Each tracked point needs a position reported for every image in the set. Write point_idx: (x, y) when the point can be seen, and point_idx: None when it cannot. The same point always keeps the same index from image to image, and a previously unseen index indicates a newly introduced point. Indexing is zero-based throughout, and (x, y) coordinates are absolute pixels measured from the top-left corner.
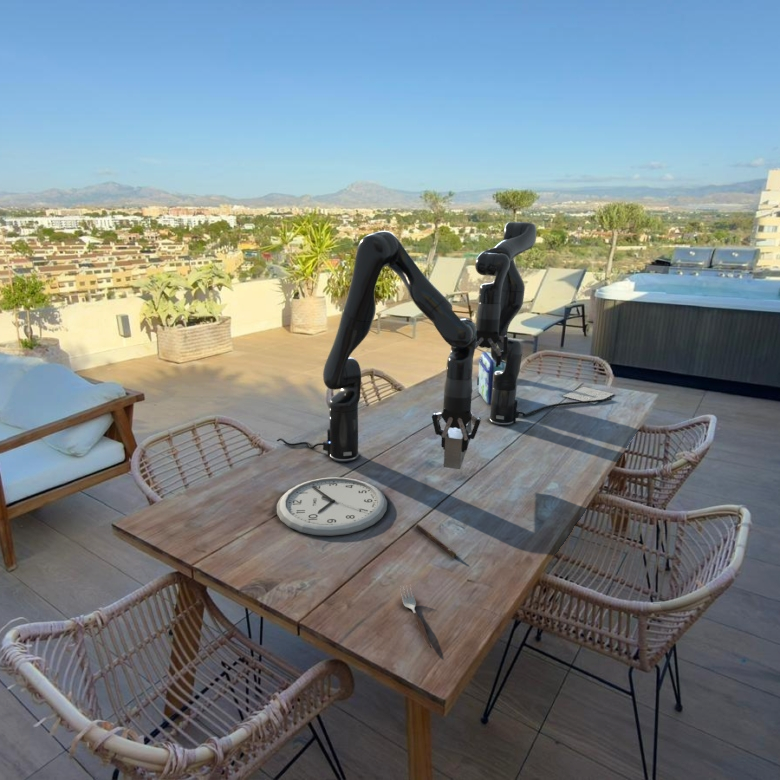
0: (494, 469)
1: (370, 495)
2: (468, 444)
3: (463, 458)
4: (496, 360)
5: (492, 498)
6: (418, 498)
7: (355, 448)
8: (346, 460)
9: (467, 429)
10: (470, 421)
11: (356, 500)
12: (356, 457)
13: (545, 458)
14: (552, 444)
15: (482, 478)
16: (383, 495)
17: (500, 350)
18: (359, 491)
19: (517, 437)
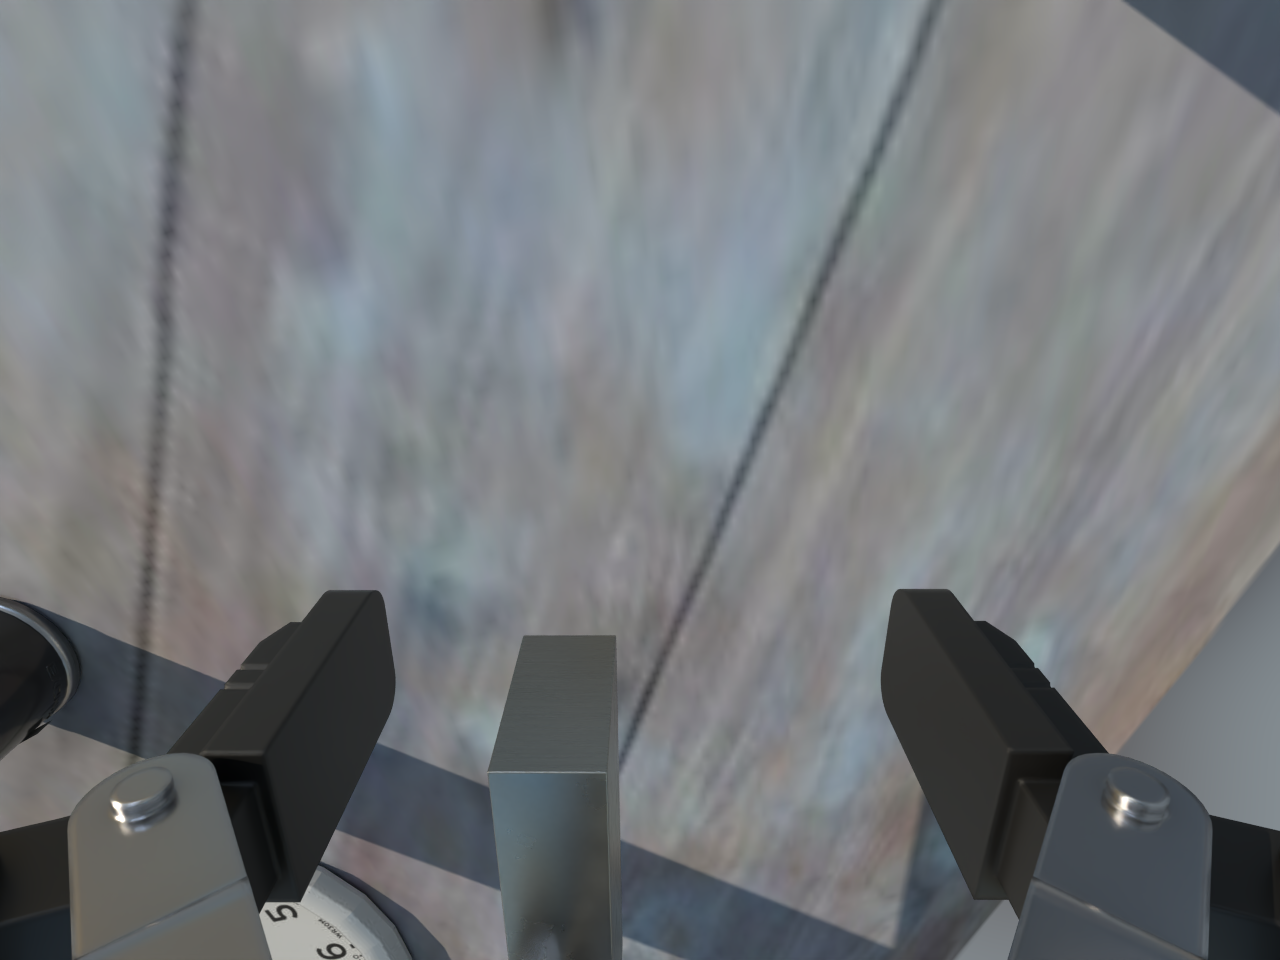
0: (757, 580)
1: (321, 925)
2: (617, 710)
3: (620, 870)
4: (931, 801)
5: (756, 811)
6: (486, 872)
7: (32, 713)
8: (53, 713)
9: (614, 918)
10: (611, 801)
11: (293, 958)
12: (73, 673)
13: (1060, 363)
14: (1173, 91)
15: (705, 679)
16: (363, 913)
17: (1196, 915)
18: (270, 913)
19: (922, 23)
